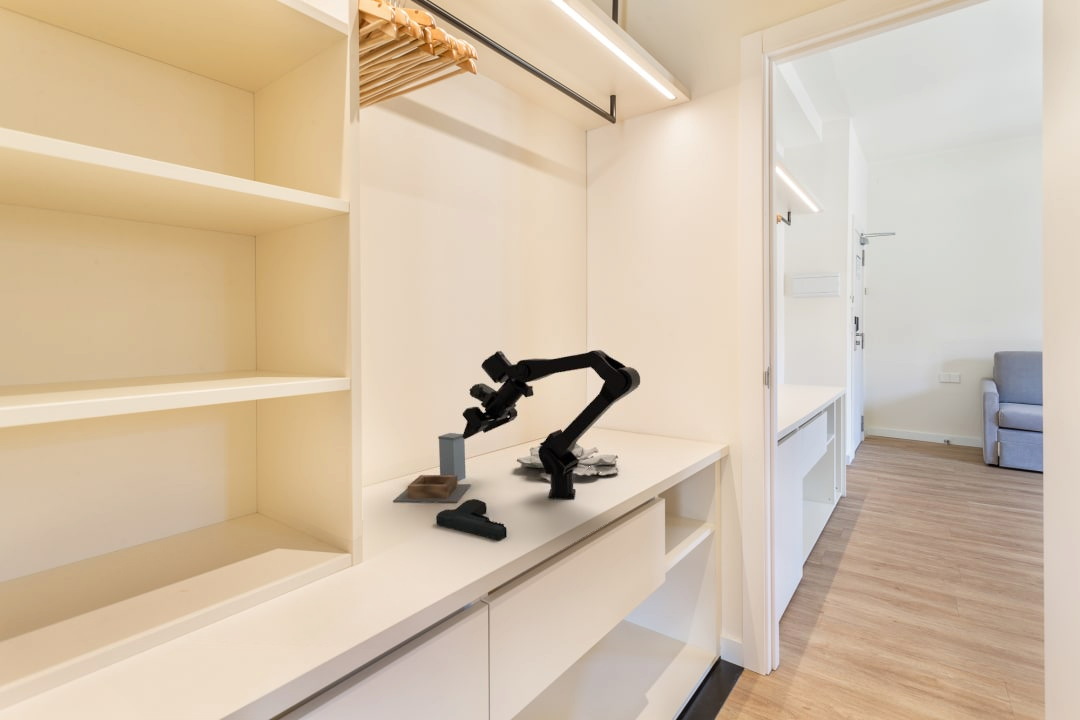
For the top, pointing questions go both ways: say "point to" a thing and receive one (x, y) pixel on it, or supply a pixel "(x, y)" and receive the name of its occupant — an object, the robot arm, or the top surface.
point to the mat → (451, 499)
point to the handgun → (472, 520)
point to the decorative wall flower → (582, 464)
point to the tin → (452, 455)
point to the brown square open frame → (432, 486)
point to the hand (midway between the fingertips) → (473, 434)
